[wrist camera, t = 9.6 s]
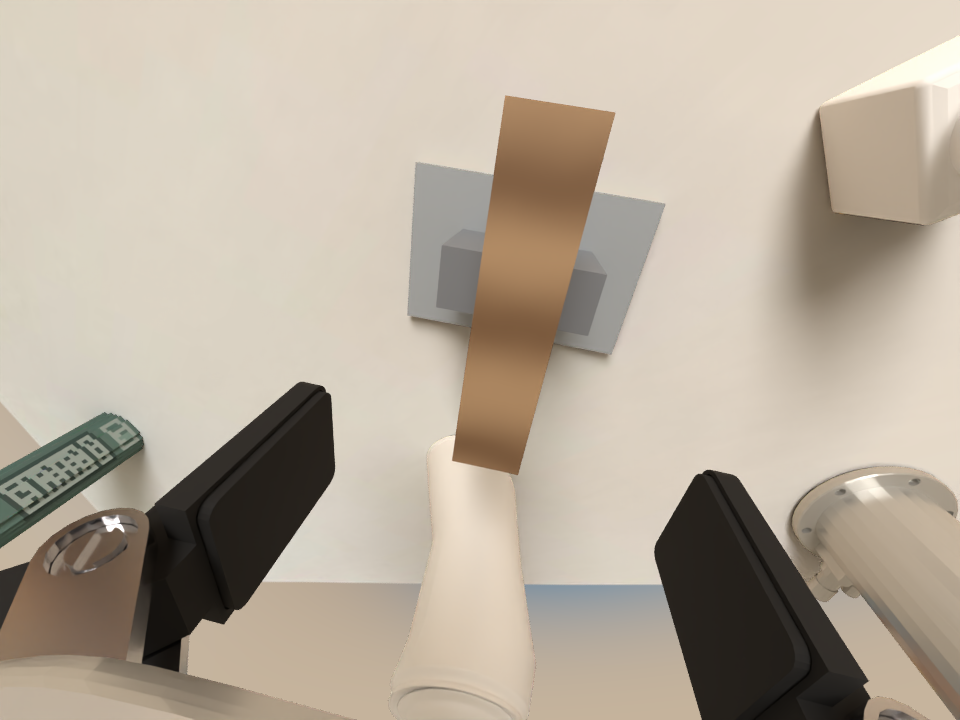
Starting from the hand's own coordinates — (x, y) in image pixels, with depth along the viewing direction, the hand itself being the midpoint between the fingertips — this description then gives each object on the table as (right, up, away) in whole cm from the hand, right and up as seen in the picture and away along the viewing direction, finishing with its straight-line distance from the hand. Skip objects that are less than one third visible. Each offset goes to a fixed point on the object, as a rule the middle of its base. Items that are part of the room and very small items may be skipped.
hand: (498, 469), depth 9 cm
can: (-46, -6, +37) cm, 60 cm away
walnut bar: (+2, +7, +13) cm, 15 cm away
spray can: (0, -9, +31) cm, 33 cm away
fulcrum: (+3, +11, +20) cm, 23 cm away
